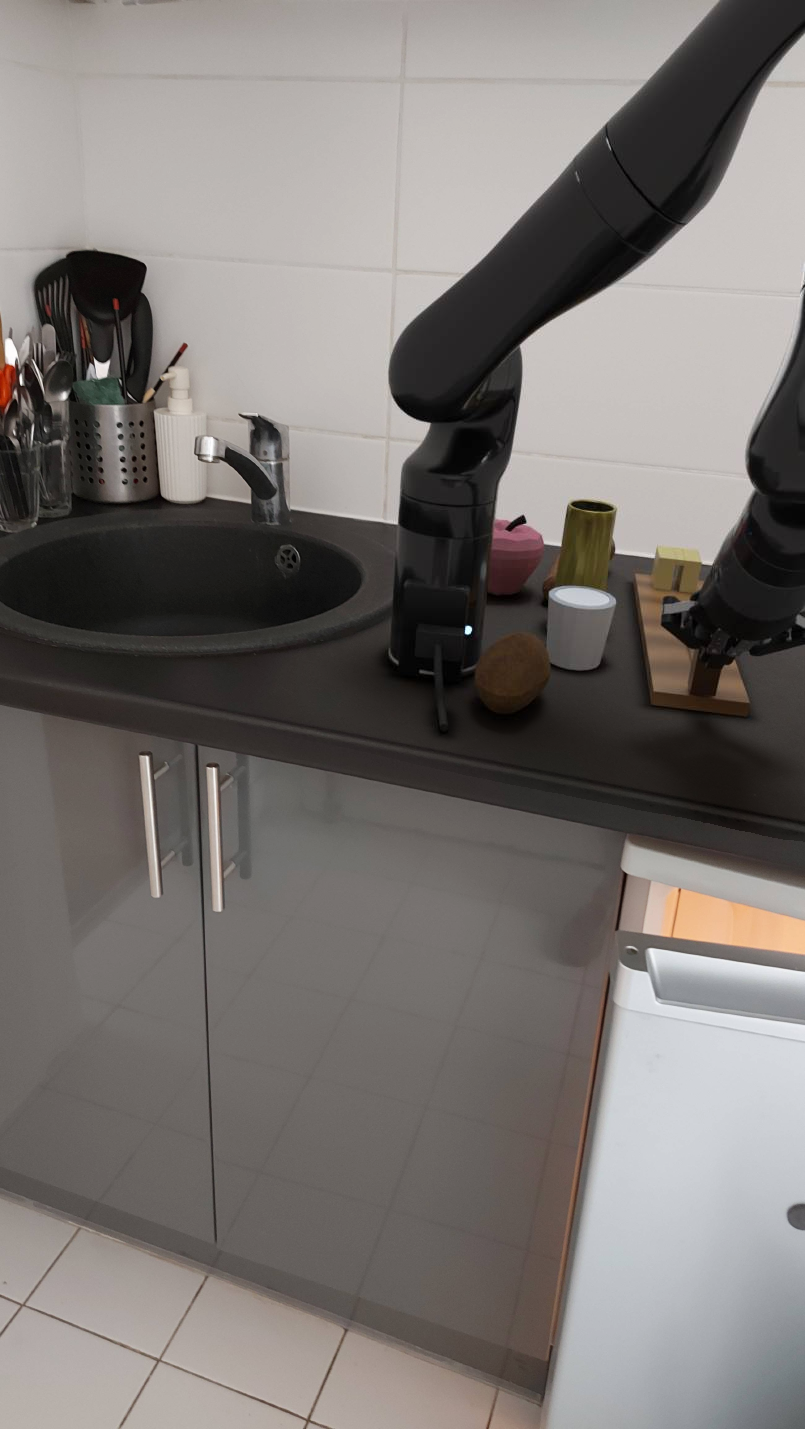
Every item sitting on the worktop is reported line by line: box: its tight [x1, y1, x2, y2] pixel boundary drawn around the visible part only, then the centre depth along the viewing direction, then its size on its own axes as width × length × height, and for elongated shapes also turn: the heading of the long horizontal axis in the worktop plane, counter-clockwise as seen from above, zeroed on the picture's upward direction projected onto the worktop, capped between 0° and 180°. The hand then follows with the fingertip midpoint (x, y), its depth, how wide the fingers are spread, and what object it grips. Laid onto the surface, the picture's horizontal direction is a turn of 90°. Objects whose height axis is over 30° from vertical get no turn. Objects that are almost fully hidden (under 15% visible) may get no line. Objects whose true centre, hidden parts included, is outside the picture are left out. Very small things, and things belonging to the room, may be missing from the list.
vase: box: [546, 498, 618, 629], centre depth 109 cm, size 6×6×14 cm
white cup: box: [546, 586, 617, 671], centre depth 104 cm, size 7×7×7 cm
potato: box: [474, 630, 552, 715], centre depth 93 cm, size 7×12×7 cm, turn 164°
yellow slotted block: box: [650, 545, 703, 593], centre depth 124 cm, size 5×5×4 cm
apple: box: [487, 514, 545, 597], centre depth 120 cm, size 10×9×10 cm
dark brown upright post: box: [688, 648, 721, 696], centre depth 101 cm, size 18×2×9 cm, turn 171°
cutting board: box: [632, 572, 751, 718], centre depth 112 cm, size 36×9×2 cm, turn 171°
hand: (713, 658), depth 92 cm, fingers closed
